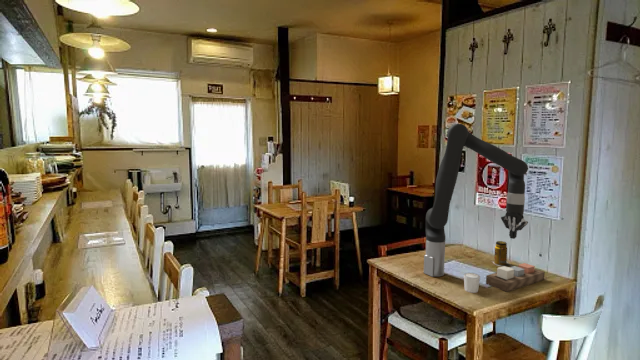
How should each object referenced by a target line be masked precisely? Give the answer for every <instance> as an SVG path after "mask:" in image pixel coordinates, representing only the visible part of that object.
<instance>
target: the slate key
mask: <svg viewBox="0 0 640 360" xmlns="http://www.w3.org/2000/svg"><path fill="white" fill-rule="evenodd" d="M508 267H509V268H512V269H514V276H517V277H520V276H523V275H524V269H522V268H519V267H518V266H515V265H513V266H508Z"/></svg>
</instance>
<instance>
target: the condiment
mask: <svg viewBox="0 0 640 360" xmlns="http://www.w3.org/2000/svg"><path fill="white" fill-rule="evenodd" d="M507 245H508V243H507V242H506V241H502V240H501V241H500V240H497V241H496V242H495V246H494V258H493V261H492V260H491V261H490V262H492V263H493V264H494V265H495V266H496V267H497V266H498V267H502V266H506V267H513V266H514V265H513V264H511V263H510V262H508V261H507V258H508V246H507Z"/></svg>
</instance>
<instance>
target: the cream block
mask: <svg viewBox="0 0 640 360" xmlns="http://www.w3.org/2000/svg"><path fill="white" fill-rule="evenodd" d="M509 267H510V266H498V267H497V269H496V270H497V271H496V273H497V276H498V277H500V278H503V279H506V280H508V279H511V278H514V269H512V268H509Z"/></svg>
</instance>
